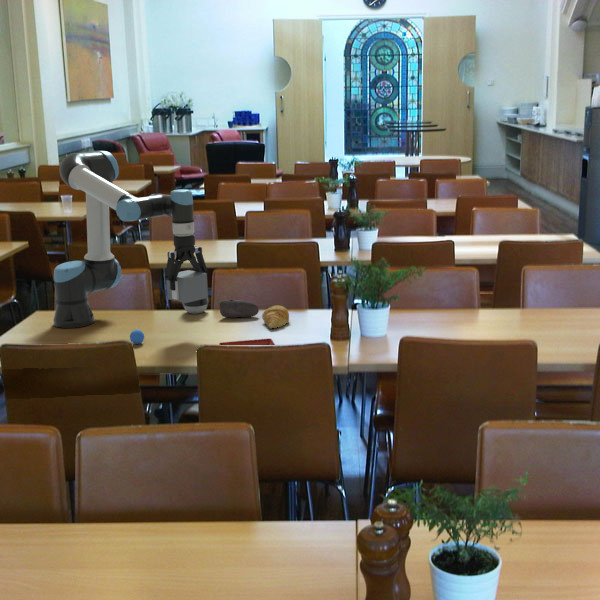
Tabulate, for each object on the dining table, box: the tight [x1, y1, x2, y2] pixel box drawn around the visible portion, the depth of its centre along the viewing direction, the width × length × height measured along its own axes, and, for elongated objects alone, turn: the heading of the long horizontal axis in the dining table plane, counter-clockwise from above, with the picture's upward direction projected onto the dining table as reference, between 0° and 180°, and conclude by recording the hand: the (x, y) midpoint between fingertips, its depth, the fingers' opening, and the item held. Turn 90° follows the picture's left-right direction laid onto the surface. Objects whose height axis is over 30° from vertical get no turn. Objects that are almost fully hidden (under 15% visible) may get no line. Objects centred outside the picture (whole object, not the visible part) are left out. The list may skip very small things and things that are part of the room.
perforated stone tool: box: [219, 299, 259, 319], centre depth 335 cm, size 15×5×7 cm, turn 84°
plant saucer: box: [218, 338, 276, 346], centre depth 286 cm, size 18×18×3 cm
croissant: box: [261, 304, 290, 330], centre depth 325 cm, size 21×10×8 cm, turn 174°
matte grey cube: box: [165, 269, 209, 304], centre depth 308 cm, size 10×10×9 cm
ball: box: [129, 329, 145, 345], centre depth 304 cm, size 5×5×5 cm
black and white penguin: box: [182, 297, 209, 315], centre depth 344 cm, size 10×10×15 cm
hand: (187, 296), depth 309 cm, fingers closed on matte grey cube, 10 cm apart
